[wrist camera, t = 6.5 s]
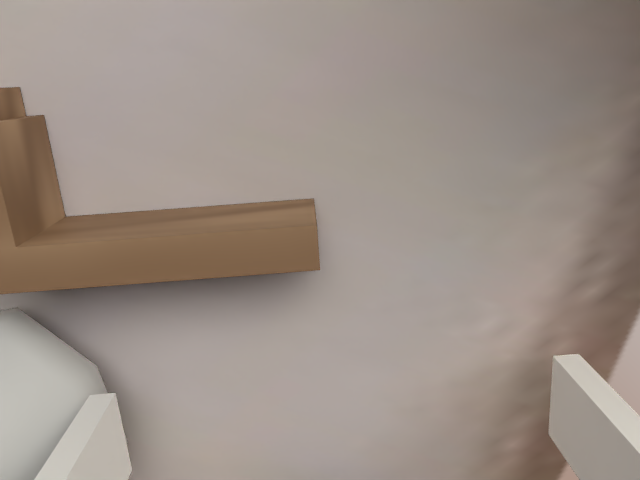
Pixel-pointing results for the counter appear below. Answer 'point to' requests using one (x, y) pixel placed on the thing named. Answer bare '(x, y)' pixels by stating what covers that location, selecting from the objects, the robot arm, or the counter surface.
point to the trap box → (129, 228)
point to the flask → (37, 393)
